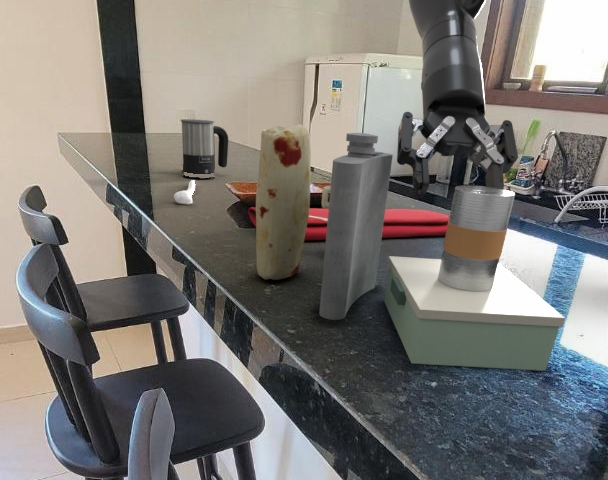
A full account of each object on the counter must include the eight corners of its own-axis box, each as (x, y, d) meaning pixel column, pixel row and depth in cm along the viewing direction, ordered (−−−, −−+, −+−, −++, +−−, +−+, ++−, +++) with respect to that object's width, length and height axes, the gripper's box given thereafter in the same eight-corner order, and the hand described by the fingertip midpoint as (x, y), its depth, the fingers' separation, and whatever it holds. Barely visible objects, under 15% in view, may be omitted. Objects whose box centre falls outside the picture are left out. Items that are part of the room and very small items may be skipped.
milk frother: (199, 180, 145) (198, 121, 138) (158, 172, 152) (155, 116, 146) (232, 176, 156) (233, 121, 149) (193, 169, 163) (192, 116, 156)
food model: (286, 289, 71) (296, 126, 62) (242, 280, 73) (245, 121, 64) (312, 270, 79) (324, 125, 70) (271, 263, 81) (278, 120, 72)
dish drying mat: (465, 237, 107) (469, 218, 105) (274, 244, 91) (275, 222, 89) (420, 219, 120) (423, 202, 118) (246, 223, 104) (247, 203, 102)
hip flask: (340, 321, 62) (360, 137, 53) (308, 314, 63) (322, 134, 54) (377, 285, 75) (398, 132, 66) (350, 279, 77) (367, 129, 68)
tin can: (482, 275, 62) (503, 187, 58) (501, 293, 57) (525, 197, 52) (431, 272, 62) (448, 183, 57) (445, 290, 56) (464, 193, 52)
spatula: (181, 183, 139) (181, 172, 138) (197, 184, 140) (197, 173, 138) (173, 204, 114) (172, 191, 113) (192, 205, 115) (192, 192, 114)
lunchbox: (493, 307, 71) (504, 263, 68) (554, 372, 54) (571, 318, 51) (377, 300, 70) (383, 255, 67) (403, 364, 53) (413, 308, 51)
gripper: (404, 56, 64) (408, 169, 59) (519, 66, 65) (532, 178, 60) (390, 104, 71) (392, 208, 66) (494, 112, 72) (504, 215, 67)
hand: (459, 193), depth 63 cm, fingers open, 8 cm apart
